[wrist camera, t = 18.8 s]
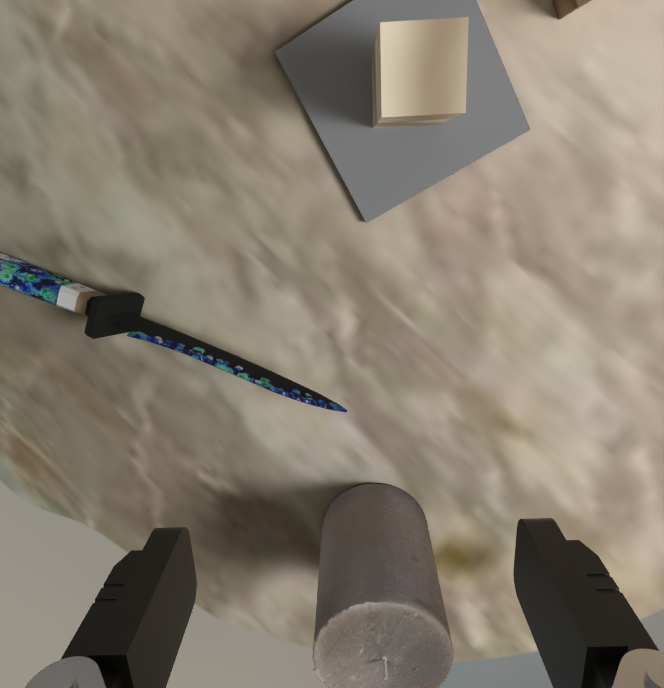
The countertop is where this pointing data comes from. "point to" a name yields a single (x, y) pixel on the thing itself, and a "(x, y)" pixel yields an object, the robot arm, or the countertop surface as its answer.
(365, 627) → the pillar candle
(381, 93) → the ash block
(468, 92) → the pad
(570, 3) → the stall
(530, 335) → the countertop surface
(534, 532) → the robot arm
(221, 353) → the knife
